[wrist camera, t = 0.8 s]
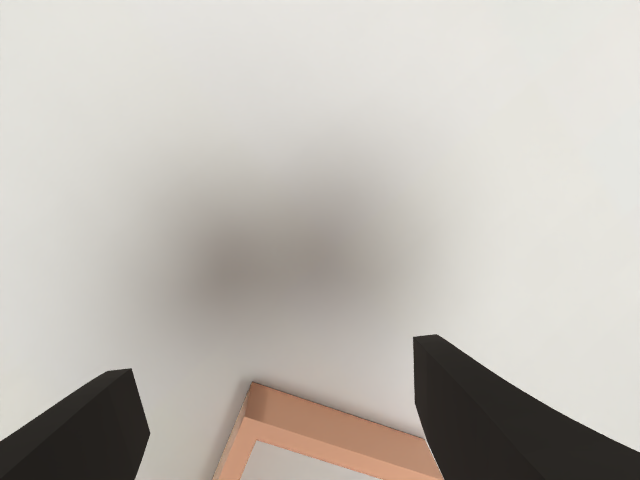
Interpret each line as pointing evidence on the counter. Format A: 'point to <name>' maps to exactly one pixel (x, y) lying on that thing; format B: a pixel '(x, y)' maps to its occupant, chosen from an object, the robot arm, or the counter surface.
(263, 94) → the counter surface
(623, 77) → the counter surface
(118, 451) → the robot arm
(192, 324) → the counter surface
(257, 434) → the terracotta bay
